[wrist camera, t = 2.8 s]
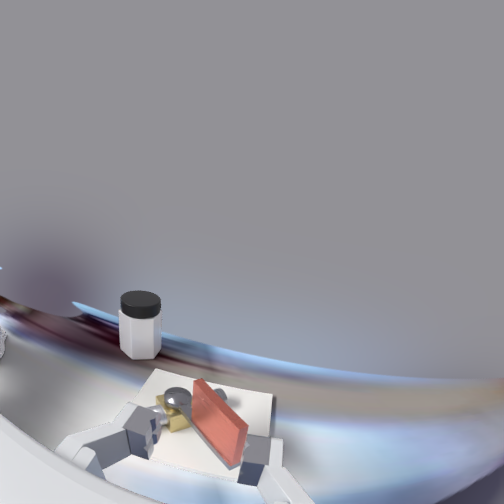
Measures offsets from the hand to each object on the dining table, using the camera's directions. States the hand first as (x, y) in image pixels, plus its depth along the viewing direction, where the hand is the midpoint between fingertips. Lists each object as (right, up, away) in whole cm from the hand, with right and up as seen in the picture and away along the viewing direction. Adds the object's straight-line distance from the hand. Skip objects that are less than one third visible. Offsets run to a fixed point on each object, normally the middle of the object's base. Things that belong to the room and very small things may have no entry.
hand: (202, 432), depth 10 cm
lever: (-5, -15, +22) cm, 27 cm away
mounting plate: (-6, -19, +28) cm, 34 cm away
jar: (-21, -13, +45) cm, 52 cm away
